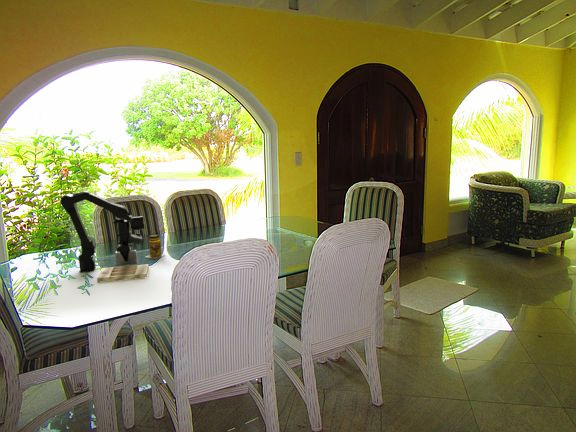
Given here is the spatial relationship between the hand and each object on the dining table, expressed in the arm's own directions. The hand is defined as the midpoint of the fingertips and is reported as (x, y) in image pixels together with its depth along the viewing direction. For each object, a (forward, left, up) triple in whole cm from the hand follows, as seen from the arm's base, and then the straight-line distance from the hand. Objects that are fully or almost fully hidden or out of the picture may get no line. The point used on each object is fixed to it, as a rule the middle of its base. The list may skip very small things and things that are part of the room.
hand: (126, 260), depth 236 cm
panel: (0, 0, -2) cm, 2 cm away
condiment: (+13, +14, -3) cm, 19 cm away
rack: (0, -13, -3) cm, 14 cm away
